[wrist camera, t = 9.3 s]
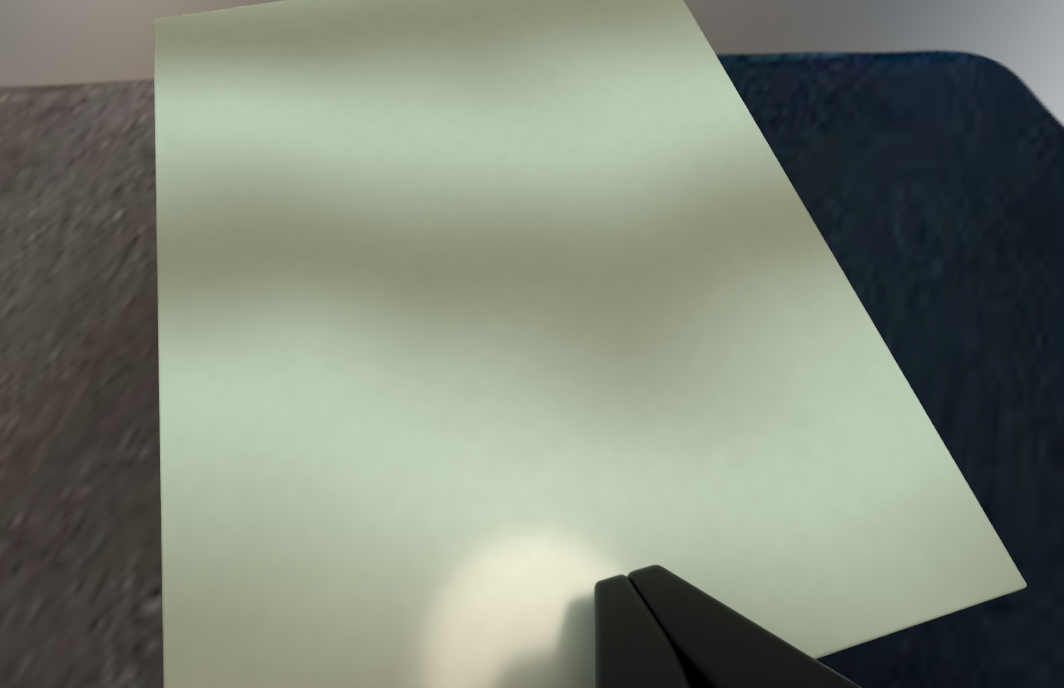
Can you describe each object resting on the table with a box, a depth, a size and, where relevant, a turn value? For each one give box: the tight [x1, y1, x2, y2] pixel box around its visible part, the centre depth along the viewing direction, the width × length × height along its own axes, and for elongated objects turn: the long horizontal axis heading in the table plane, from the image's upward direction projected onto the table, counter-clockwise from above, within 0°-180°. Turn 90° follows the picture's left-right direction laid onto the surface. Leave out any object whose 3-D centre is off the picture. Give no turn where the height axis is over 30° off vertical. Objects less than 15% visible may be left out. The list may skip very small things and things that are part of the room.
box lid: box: [154, 0, 1026, 688], centre depth 12 cm, size 16×13×1 cm
